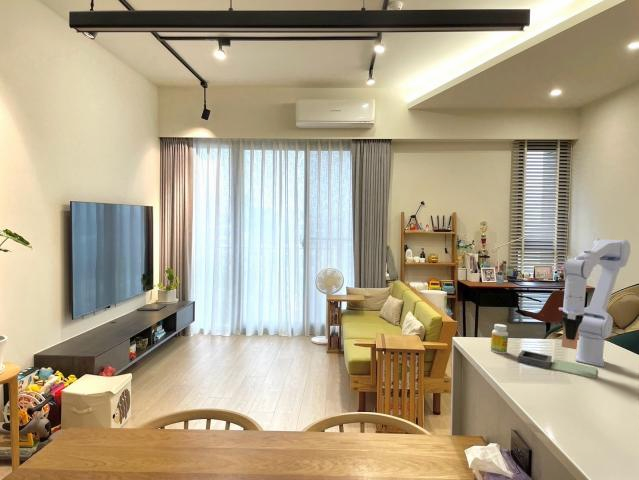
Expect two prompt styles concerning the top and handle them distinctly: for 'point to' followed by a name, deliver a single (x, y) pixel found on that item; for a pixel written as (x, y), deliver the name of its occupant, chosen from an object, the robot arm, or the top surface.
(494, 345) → the supplement bottle
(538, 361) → the metal collar
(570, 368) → the rubber mat
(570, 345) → the peg
